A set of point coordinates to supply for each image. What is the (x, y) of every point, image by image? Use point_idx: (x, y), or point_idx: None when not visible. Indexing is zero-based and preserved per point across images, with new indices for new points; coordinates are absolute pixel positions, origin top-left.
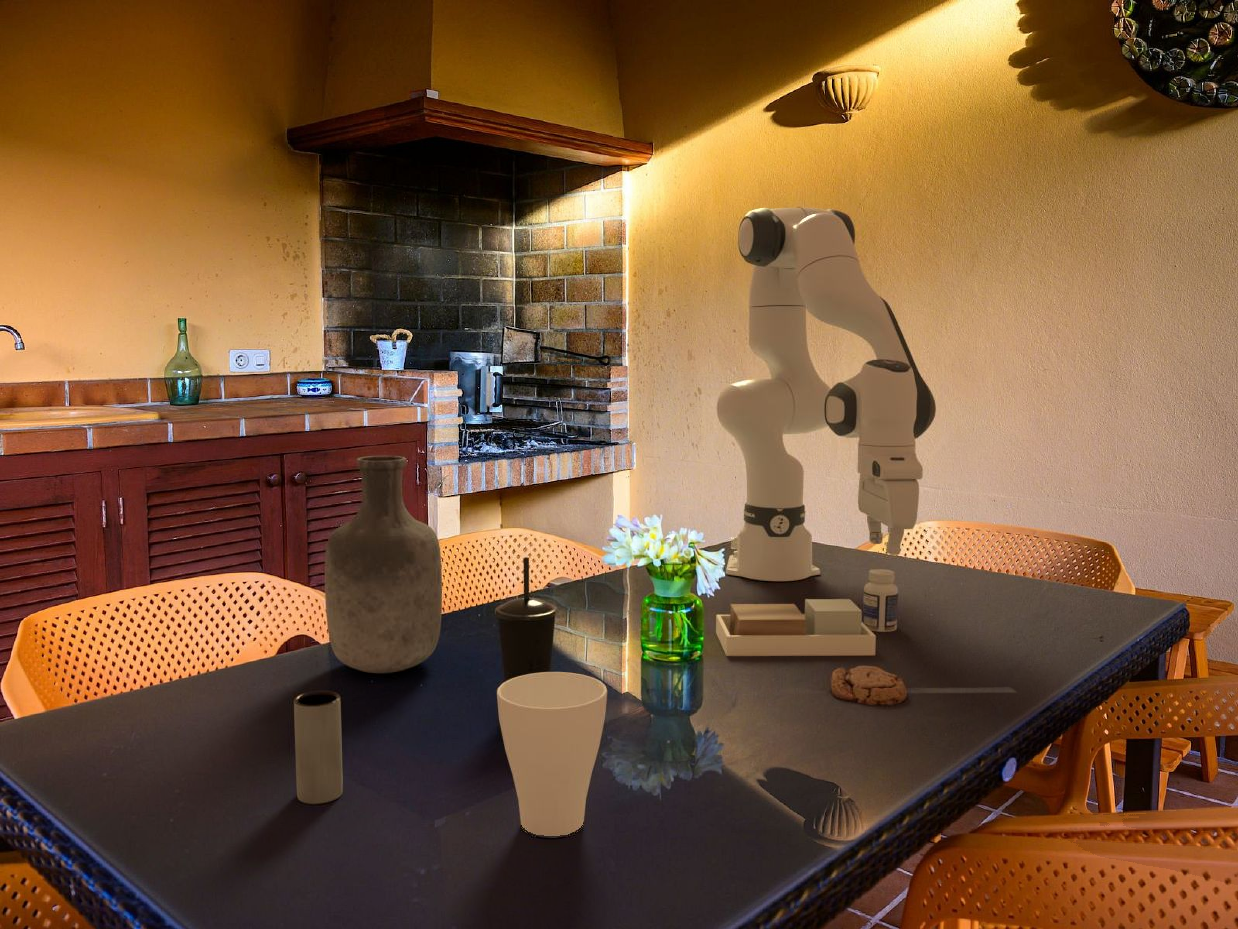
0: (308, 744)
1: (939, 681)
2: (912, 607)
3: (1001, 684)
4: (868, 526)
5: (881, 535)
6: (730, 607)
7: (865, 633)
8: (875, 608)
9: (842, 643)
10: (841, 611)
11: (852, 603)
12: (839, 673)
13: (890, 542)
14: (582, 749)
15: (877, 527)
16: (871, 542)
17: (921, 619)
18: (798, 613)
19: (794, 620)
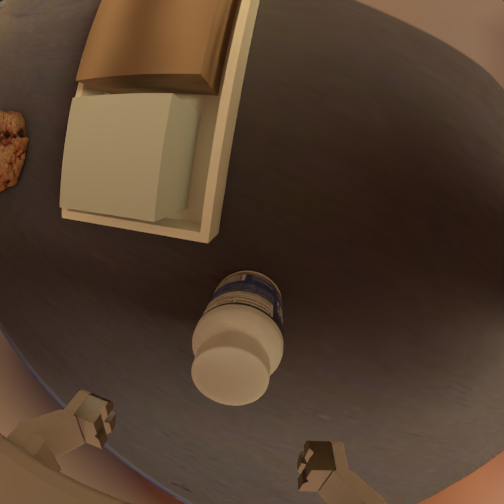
0: None
1: (21, 257)
2: (372, 407)
3: (23, 319)
4: (364, 485)
5: (298, 482)
6: None
7: (98, 213)
8: (210, 301)
9: None
10: (63, 158)
11: (113, 210)
12: (1, 121)
13: (56, 413)
14: None
15: (333, 500)
16: (324, 441)
17: (302, 396)
18: (115, 68)
19: (83, 57)
